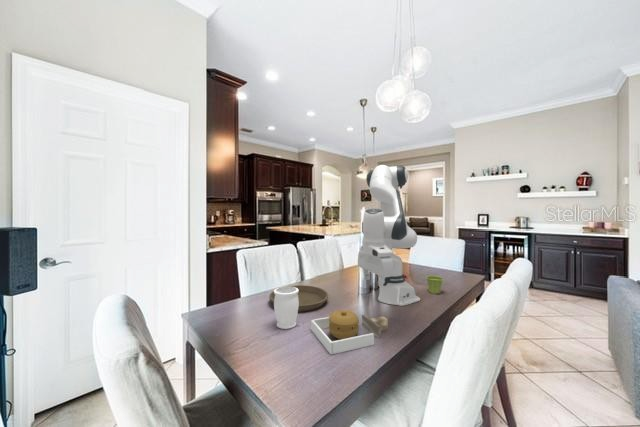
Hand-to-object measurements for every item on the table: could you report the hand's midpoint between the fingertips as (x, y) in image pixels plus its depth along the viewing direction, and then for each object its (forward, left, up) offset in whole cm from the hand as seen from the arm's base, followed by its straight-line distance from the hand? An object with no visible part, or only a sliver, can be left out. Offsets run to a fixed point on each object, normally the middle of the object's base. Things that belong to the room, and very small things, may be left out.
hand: (373, 282), depth 107 cm
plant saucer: (+19, -41, -20) cm, 49 cm away
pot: (+14, +1, -20) cm, 24 cm away
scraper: (-2, +1, -19) cm, 19 cm away
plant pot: (-59, -26, -19) cm, 68 cm away
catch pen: (+15, +1, -19) cm, 24 cm away
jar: (+32, -17, -19) cm, 41 cm away
